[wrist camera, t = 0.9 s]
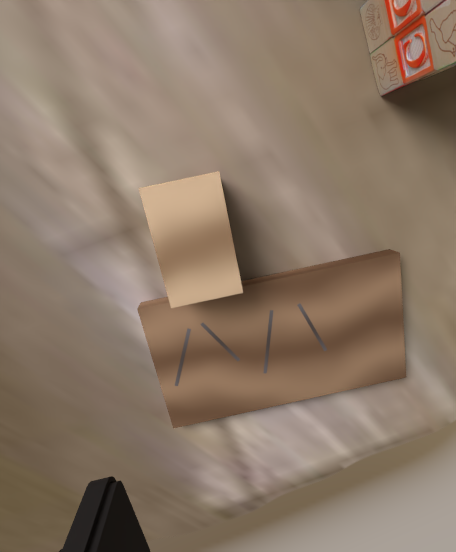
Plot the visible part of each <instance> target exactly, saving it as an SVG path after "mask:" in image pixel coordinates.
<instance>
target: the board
mask: <svg viewBox="0 0 456 552" xmlns="http://www.w3.org/2000/svg"><path fill="white" fill-rule="evenodd" d="M241 284H242V289H243V293H240V294H235V295H231V296H226V297H221V298H217V299H212V300H207V301H203V302H198V303H193V304H189V305H184V306H179V307H175V308H171V306H170V302H169V299H168V297H165V298H160V299H155V300H151V301H146V302H141V303H140V305H139V307H138V313H139V316H140V319H141V323H142V326H143V329H144V333H145V336H146V339H147V342H148V346H149V349H150V352H151V356H152V359H153V362H154V366H155V369H156V372H157V376H158V379H159V382H160V385H161V389H162V392H163V395H164V399H165V402H166V405H167V409H168V412H169V415H170V419H171V422H172V425H173V428H177V427H182V426H186V425H191V424H195V423H200V422H204V421H209V420H213V419H218V418H223V417H227V416H232V415H236V414H241V413H245V412H250V411H255V410H259V409H264V408H268V407H273V406H277V405H282V404H287V403H291V402H296V401H300V400H305V399H309V398H314V397H318V396H323V395H328V394H332V393H337V392H341V391H346V390H350V389H355V388H360V387H364V386H369V385H373V384H378V383H382V382H387V381H392V380H396V379H401V378H405V377H406V363H405V344H404V324H403V305H402V286H401V267H400V253H399V252H396V251H393V250H390V249H389V250H384V251H380V252H375V253H370V254H366V255H361V256H356V257H352V258H347V259H342V260H338V261H333V262H328V263H324V264H319V265H314V266H310V267H305V268H300V269H296V270H291V271H286V272H282V273H277V274H272V275H268V276H263V277H258V278H254V279H249V280H244V281H241Z"/></svg>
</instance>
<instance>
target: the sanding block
mask: <svg viewBox="0 0 456 552" xmlns="http://www.w3.org/2000/svg"><path fill="white" fill-rule="evenodd" d="M139 191H140V195H141V199H142V202H143V206H144V210H145V214H146V217H147V221H148V225H149V228H150V232H151V236H152V239H153V243H154V247H155V251H156V254H157V258H158V262H159V265H160V269H161V273H162V276H163V280H164V284H165V288H166V291H167V295H168V299H169V302H170V306H171V308H175V307H179V306H184V305H189V304H193V303H198V302H203V301H207V300H212V299H217V298H221V297H226V296H231V295H235V294H240V293H243V289H242V284H241V279H240V274H239V269H238V264H237V259H236V254H235V249H234V244H233V239H232V234H231V229H230V224H229V219H228V214H227V208H226V203H225V198H224V193H223V188H222V183H221V178H220V173H219V171H218V172H213V173H209V174H204V175H199V176H194V177H190V178H185V179H180V180H175V181H171V182H166V183H161V184H156V185H151V186H147V187H142V188H139Z"/></svg>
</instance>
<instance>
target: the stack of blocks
mask: <svg viewBox="0 0 456 552" xmlns="http://www.w3.org/2000/svg"><path fill="white" fill-rule="evenodd" d="M360 13H361V18H362V23H363V27H364V31H365V35H366V39H367V44H368V48H369V52H370V58H371V63H372V67H373V71H374V75H375V79H376V83H377V87H378V90H379V93H380V96H383V95H385V94H387V93H389V92H392V91H394V90H396V89H399V88H401V87H403V86H406V85H408V84H410V83H413V82H415V81H417V80H423V79H425V78H428V77H430V76H432V75H435V74H437V73H439V72H442V71H444V70H447V69H449V68H451V67H454V66H456V0H368V1H367V2H366V3H365V4H364V5H363V6H362V7H361V8H360Z"/></svg>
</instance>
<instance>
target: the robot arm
mask: <svg viewBox="0 0 456 552" xmlns="http://www.w3.org/2000/svg"><path fill="white" fill-rule="evenodd" d="M59 552H150V549H149V547H148V544H147V542H146V539H145V537H144V534H143V532H142V529H141V527H140V525H139V522H138V520H137V517H136V515H135V512H134V510H133V508H132V505H131V503H130V500H129V498H128V495H127V493H126V490H125V488H124V486H123V483H122V482H121V481H117V482H116V480H115V478H114V477H113V476H112V477H108V478H103V479H99V480H95V481H91V482H90V483H89V484H88V486H87V488H86V491H85V493H84V496H83V498H82V501H81V503H80V506H79V508H78V511H77V513H76V516H75V519H74V521H73V524H72V526H71V529H70V531H69V534H68V536H67V539H66V541H65V544H64V547H63V549H61V550H60V551H59Z"/></svg>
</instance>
